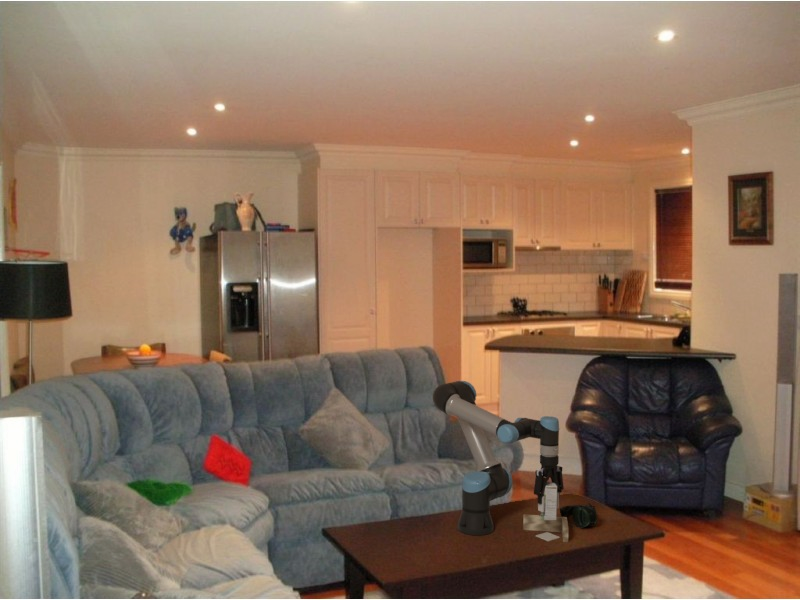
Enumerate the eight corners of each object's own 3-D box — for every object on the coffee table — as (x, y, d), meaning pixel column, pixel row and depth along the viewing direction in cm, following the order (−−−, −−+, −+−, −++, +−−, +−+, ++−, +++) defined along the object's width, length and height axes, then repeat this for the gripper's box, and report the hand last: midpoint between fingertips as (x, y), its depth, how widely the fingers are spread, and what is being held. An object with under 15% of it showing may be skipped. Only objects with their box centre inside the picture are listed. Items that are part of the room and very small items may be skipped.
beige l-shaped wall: (523, 539, 305) (523, 524, 305) (523, 528, 318) (523, 514, 318) (568, 542, 302) (568, 527, 302) (566, 530, 315) (566, 517, 315)
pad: (548, 541, 303) (548, 540, 303) (535, 536, 309) (535, 535, 309) (559, 537, 307) (559, 537, 307) (547, 532, 313) (547, 531, 313)
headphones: (611, 513, 321) (580, 507, 339) (593, 494, 318) (562, 488, 335) (597, 539, 316) (566, 531, 334) (577, 520, 312) (547, 513, 330)
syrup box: (540, 515, 310) (540, 481, 310) (554, 515, 310) (554, 481, 310) (542, 520, 305) (543, 485, 304) (557, 520, 305) (557, 485, 304)
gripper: (538, 460, 297) (537, 516, 298) (573, 453, 309) (572, 507, 310) (524, 456, 303) (524, 511, 304) (559, 449, 315) (558, 502, 317)
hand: (548, 509), depth 307 cm, fingers closed on syrup box, 8 cm apart
